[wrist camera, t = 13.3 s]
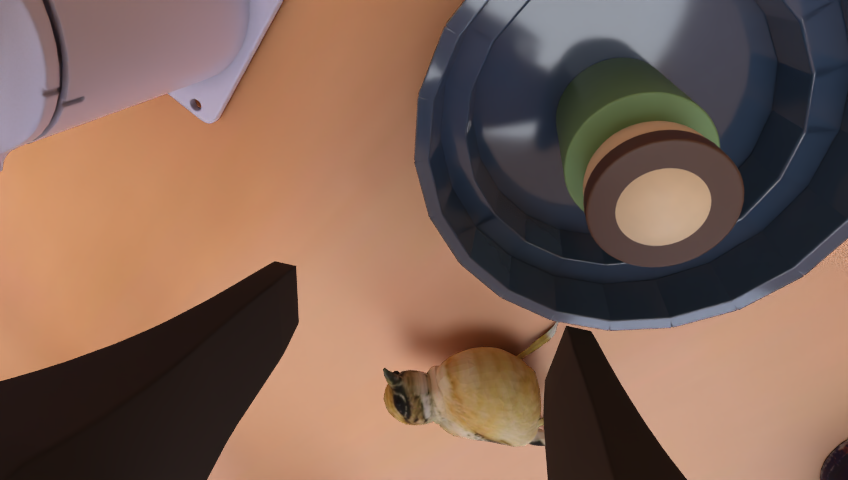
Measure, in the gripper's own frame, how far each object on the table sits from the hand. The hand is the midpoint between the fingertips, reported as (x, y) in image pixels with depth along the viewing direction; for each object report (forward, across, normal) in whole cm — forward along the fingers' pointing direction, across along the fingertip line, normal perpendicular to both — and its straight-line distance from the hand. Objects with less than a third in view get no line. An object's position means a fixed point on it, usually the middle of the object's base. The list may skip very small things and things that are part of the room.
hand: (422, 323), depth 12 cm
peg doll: (+9, -5, -4) cm, 11 cm away
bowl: (+9, -5, -4) cm, 11 cm away
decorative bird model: (+10, -4, +12) cm, 16 cm away
